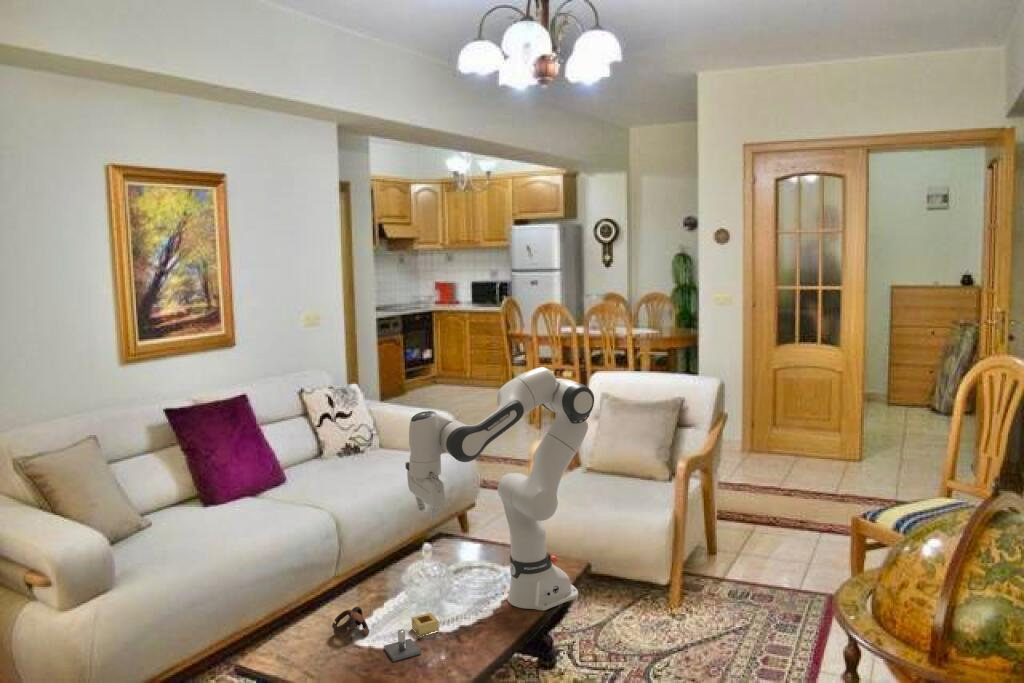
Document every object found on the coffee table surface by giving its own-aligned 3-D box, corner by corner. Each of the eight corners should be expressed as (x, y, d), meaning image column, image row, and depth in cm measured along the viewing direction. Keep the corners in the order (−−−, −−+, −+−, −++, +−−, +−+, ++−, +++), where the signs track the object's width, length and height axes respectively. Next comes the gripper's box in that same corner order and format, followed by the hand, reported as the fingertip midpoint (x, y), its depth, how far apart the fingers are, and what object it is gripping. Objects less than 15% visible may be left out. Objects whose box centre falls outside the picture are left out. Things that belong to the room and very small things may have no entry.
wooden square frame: (431, 623, 244) (430, 612, 244) (438, 632, 239) (438, 620, 238) (412, 628, 241) (411, 617, 241) (419, 637, 236) (418, 626, 236)
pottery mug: (368, 643, 235) (351, 623, 232) (341, 655, 237) (324, 635, 234) (376, 614, 246) (361, 594, 243) (350, 626, 248) (335, 606, 245)
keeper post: (410, 641, 234) (409, 621, 233) (421, 654, 227) (420, 633, 226) (383, 649, 230) (382, 628, 229) (393, 661, 223) (392, 641, 222)
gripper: (449, 475, 228) (451, 523, 230) (423, 458, 246) (424, 503, 248) (428, 479, 225) (430, 527, 227) (403, 461, 243) (404, 506, 245)
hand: (427, 514), depth 238 cm, fingers open, 8 cm apart
